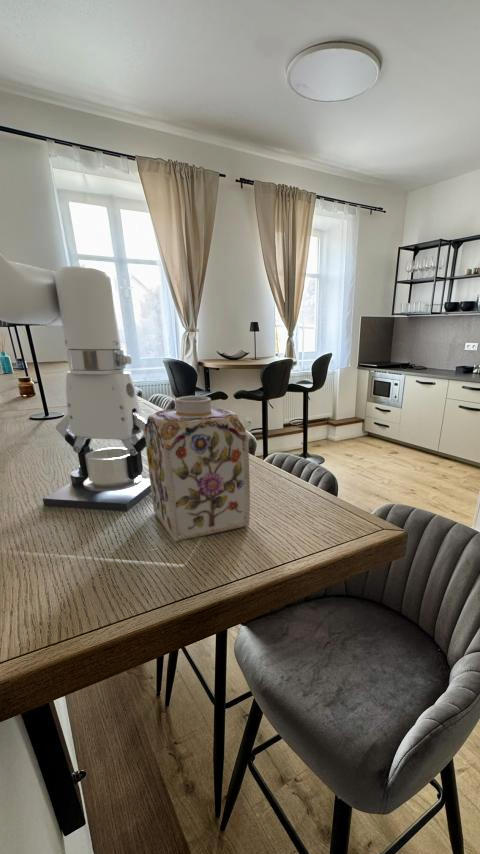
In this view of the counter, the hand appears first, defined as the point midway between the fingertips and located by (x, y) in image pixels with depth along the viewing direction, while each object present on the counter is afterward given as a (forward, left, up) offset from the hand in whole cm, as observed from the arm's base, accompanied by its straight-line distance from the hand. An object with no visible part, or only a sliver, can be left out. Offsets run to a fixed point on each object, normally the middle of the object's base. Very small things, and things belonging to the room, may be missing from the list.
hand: (112, 474), depth 68 cm
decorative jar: (+16, -6, -4) cm, 18 cm away
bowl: (0, 0, -1) cm, 1 cm away
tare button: (-7, +5, -2) cm, 8 cm away
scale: (-3, +1, -4) cm, 5 cm away
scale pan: (0, 0, -1) cm, 1 cm away
